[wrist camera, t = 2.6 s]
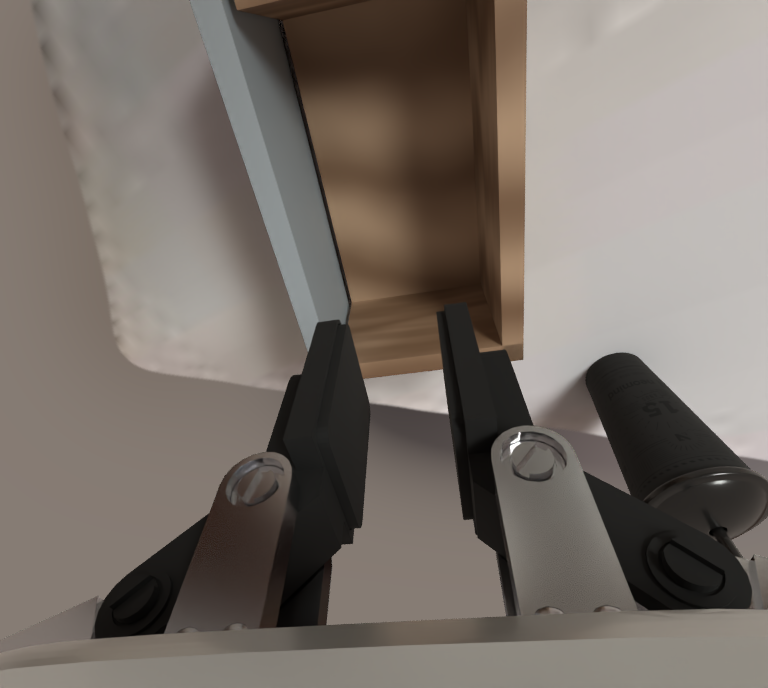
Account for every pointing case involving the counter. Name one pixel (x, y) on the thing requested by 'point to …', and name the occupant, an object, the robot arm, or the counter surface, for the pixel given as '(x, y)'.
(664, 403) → the drinking cup
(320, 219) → the panel
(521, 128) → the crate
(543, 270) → the counter surface
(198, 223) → the counter surface
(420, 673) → the robot arm
